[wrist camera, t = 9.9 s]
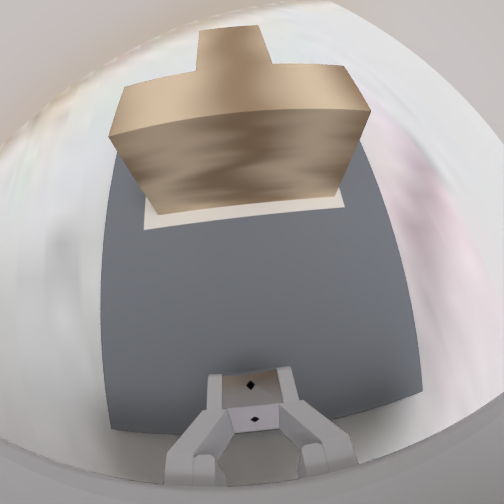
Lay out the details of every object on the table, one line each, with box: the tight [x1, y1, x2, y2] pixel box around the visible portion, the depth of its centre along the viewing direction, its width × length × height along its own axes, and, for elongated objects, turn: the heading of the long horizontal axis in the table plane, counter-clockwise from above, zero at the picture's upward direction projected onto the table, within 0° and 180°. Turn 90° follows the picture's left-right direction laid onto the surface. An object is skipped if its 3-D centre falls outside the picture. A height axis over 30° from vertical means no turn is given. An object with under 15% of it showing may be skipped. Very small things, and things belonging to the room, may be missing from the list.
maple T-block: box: [108, 25, 371, 215], centre depth 16 cm, size 12×10×8 cm
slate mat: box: [101, 140, 423, 435], centre depth 18 cm, size 20×26×1 cm
